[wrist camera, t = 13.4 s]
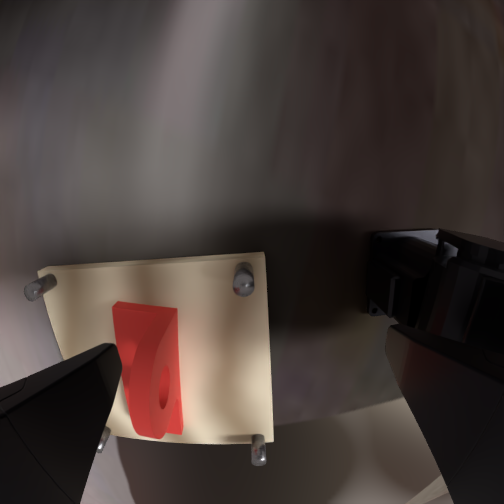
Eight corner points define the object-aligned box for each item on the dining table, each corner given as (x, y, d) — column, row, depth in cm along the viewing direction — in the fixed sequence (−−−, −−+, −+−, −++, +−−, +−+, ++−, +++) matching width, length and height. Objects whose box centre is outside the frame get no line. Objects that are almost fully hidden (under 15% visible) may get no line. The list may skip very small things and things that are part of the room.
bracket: (117, 300, 19) (62, 358, 12) (177, 308, 20) (143, 376, 12) (135, 418, 22) (110, 482, 14) (183, 426, 22) (168, 496, 15)
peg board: (263, 251, 20) (268, 271, 16) (272, 430, 24) (275, 465, 20) (47, 266, 20) (15, 283, 16) (102, 423, 24) (87, 451, 20)
